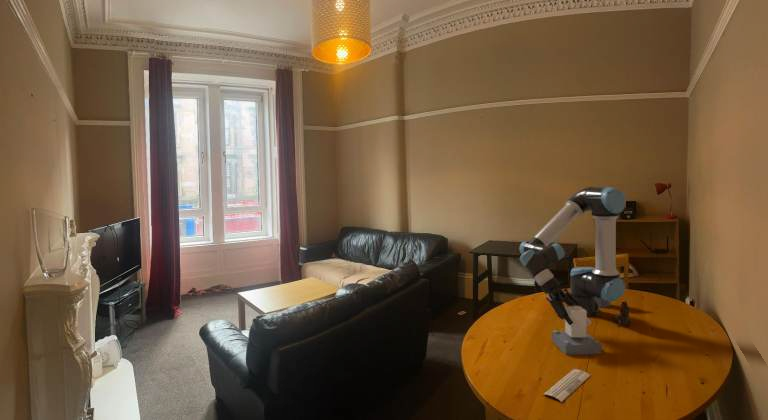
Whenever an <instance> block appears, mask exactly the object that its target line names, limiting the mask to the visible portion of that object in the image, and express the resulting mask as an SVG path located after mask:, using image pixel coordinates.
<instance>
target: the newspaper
mask: <svg viewBox="0 0 768 420" xmlns="http://www.w3.org/2000/svg"><path fill="white" fill-rule="evenodd" d="M590 377H591V375H590V373H588V372H586V371H583V370H581V369H576V368H575V369H571V370H570V371H569V372H568V373H567V374H566V375H565V376H564V377H562V378H561V379H560V380H559V381H557V382H556V383H555V384H554V385H552V386H551V387H550V388H549V389H548V390H547V391H546V392H544V393H543V397H544V396H550V397H552V398H555V399H557V400H558V401H559V402H560V403H563V402H564V401H565V400H566V399H567V398H568V397H569V396H570V395H572V394H573V392H575V391H576V390H577V389H578V388H579V387H580V386H581V385H582V384H583V383H584V382H585V381H587V379H589V378H590Z"/></svg>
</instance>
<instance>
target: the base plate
mask: <svg viewBox="0 0 768 420" xmlns="http://www.w3.org/2000/svg"><path fill="white" fill-rule="evenodd" d="M551 341H552V342H553V343H554V344H555V345H556V346H557V347H558V348H559V350H560V351H562V353H563V354H564V355H566V356H567V355H568V356H569V355H570V356H573V355H574V356H575V355H601V354H602V343H600V341H598V340H597V339H595V338H594V337H593V336H591V335H590V334H589V332H587V331H586V337H570V336H569V335H568V334H567V333H566V332H565V330H562V331H561V330H560V331H559V330H553V331H552V332H551Z"/></svg>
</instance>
